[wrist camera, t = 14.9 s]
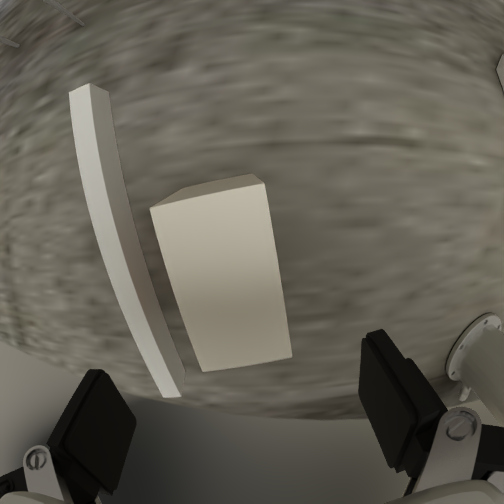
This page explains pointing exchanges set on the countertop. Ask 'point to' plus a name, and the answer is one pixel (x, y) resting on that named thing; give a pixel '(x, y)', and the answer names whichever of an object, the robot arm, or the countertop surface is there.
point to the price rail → (121, 236)
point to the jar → (501, 70)
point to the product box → (225, 271)
